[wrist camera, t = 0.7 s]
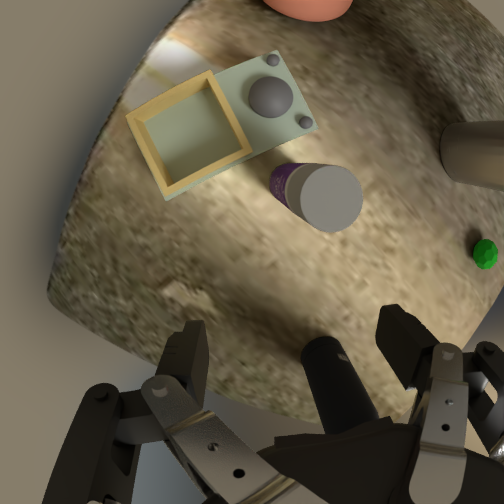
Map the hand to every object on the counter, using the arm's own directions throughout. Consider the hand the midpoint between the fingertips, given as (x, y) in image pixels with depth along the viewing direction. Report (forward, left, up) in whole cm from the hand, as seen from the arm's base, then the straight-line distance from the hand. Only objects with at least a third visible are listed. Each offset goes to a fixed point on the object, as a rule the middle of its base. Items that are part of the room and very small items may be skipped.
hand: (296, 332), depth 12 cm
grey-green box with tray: (-1, -12, -22) cm, 25 cm away
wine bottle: (0, +22, -22) cm, 31 cm away
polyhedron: (-32, +20, -22) cm, 44 cm away
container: (-5, -3, -22) cm, 23 cm away
